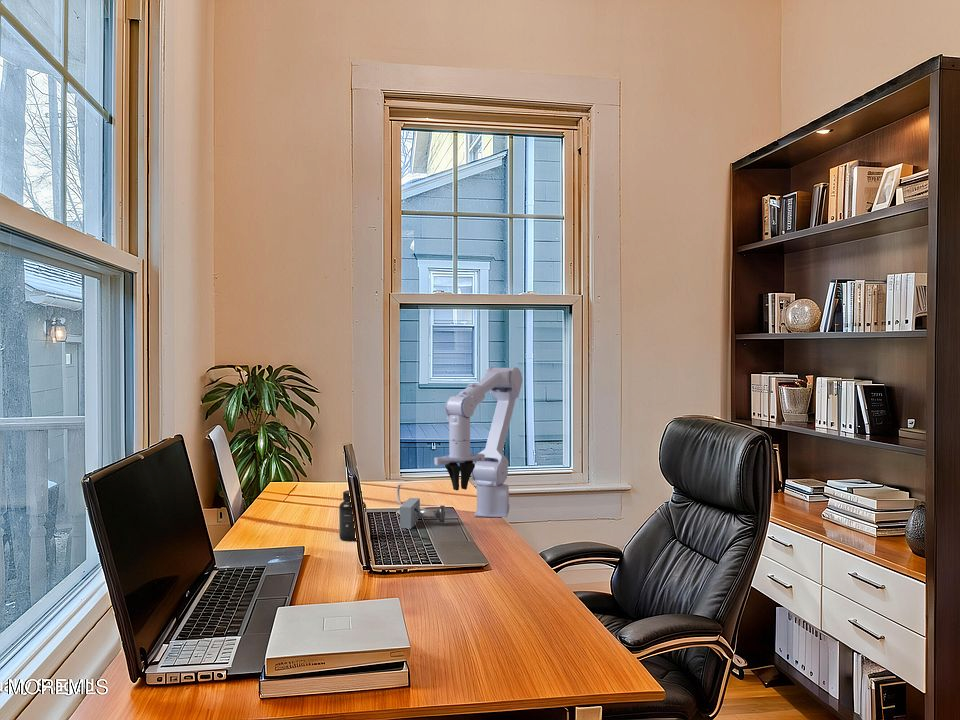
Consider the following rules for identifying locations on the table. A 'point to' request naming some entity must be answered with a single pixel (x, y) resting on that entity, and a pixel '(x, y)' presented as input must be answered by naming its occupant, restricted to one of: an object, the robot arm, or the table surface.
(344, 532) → the supplement bottle
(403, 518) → the hitch block
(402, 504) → the hook
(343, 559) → the table surface
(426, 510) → the pin
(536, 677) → the table surface
